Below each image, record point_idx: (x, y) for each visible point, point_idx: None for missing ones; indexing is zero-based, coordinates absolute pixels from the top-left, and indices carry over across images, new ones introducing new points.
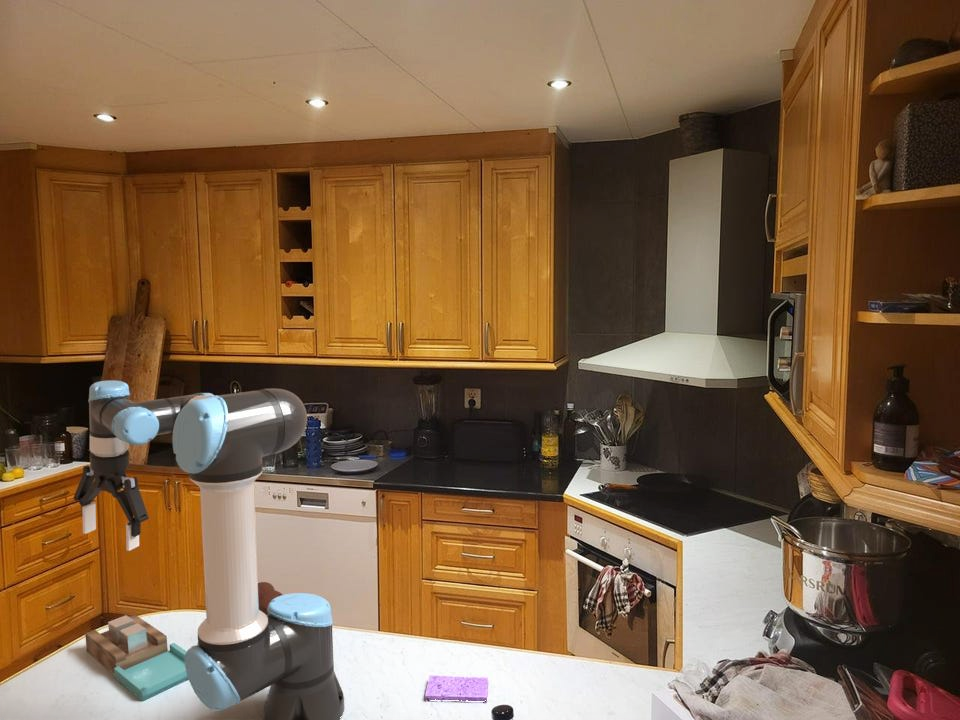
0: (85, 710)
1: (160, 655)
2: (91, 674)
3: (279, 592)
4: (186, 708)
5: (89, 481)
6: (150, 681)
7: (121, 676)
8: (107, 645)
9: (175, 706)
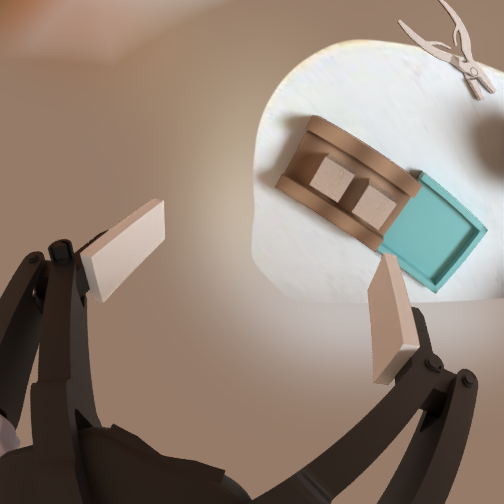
0: None
1: None
2: (335, 234)
3: None
4: (482, 295)
5: (12, 365)
6: (430, 257)
7: None
8: (340, 220)
9: (470, 292)
